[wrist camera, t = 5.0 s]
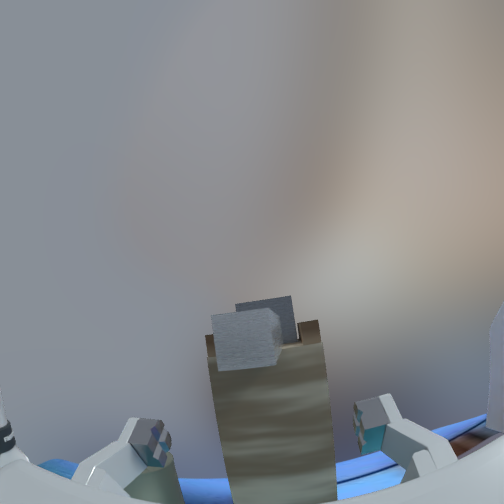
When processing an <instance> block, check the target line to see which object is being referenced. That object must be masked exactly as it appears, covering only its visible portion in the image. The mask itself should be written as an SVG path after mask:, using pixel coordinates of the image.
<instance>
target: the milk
mask: <svg viewBox="0 0 504 504" xmlns="http://www.w3.org/2000/svg"><path fill="white" fill-rule="evenodd" d="M489 337H490V384H489V401H488V411H487V420H486V428H489V429H492V430H495V431H498V432H501V433H504V301H503V303H502V305H501V307H500V309H499V311H498V313H497V315H496V316H495V318H494V320H493V322H492V324H491V327H490V334H489Z"/></svg>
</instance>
